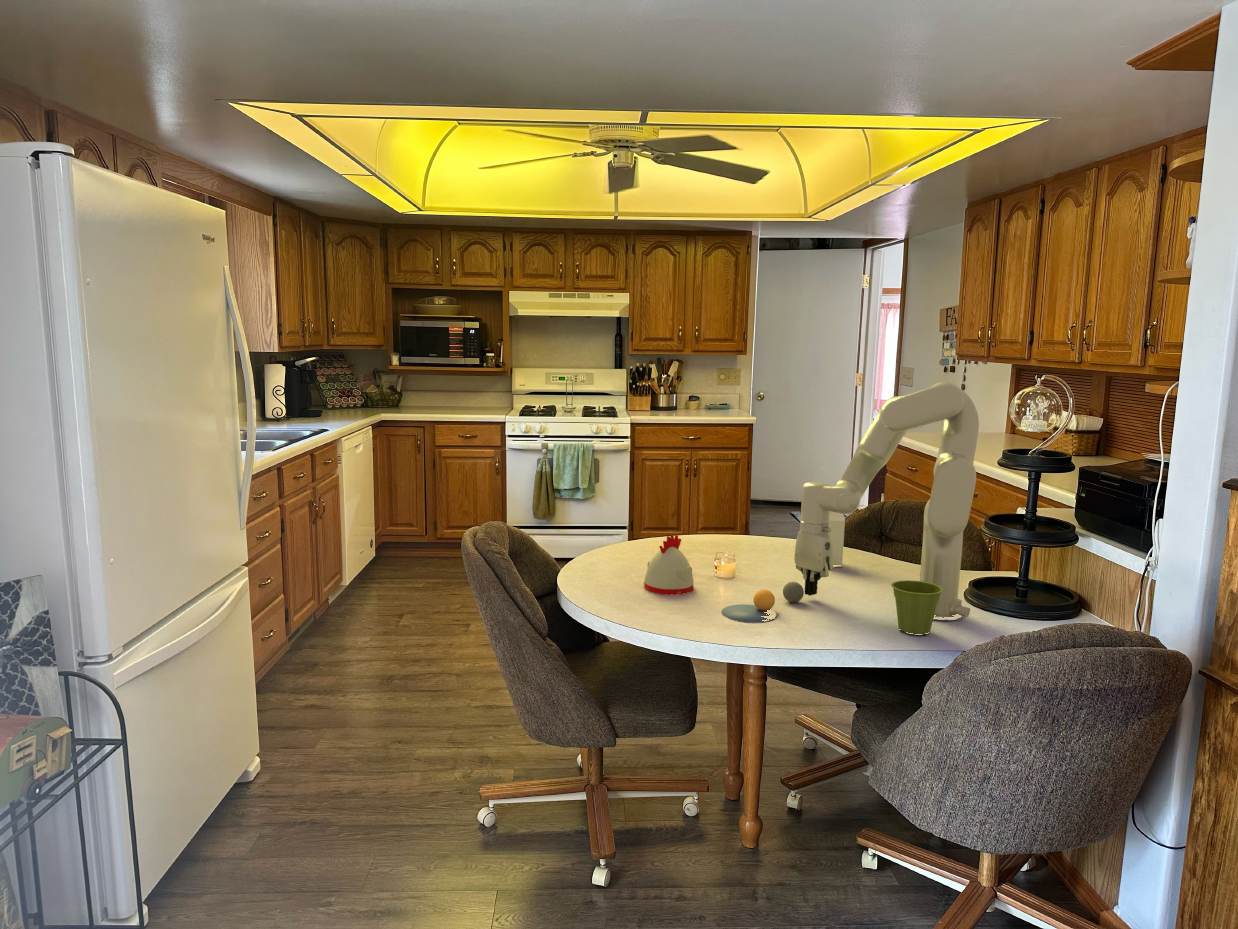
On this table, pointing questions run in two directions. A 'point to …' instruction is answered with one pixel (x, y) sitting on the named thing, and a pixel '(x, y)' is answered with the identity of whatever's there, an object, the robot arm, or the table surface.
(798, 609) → the table surface
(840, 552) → the milk carton
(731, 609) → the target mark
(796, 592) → the gray ball
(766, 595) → the object ball
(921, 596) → the plant pot
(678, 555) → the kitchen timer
